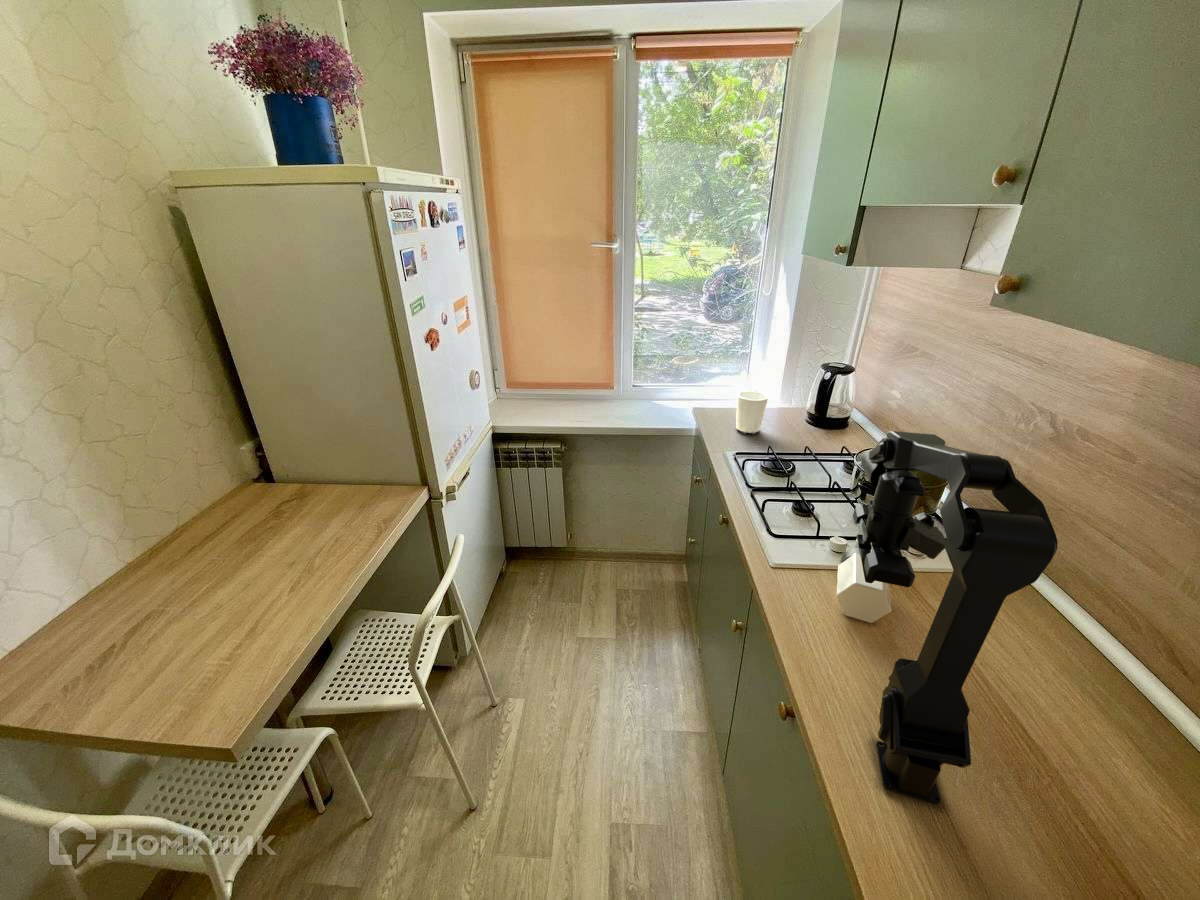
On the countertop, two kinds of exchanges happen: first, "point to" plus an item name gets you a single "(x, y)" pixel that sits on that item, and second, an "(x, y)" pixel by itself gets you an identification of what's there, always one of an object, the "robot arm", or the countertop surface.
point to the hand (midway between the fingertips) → (868, 581)
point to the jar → (860, 590)
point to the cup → (750, 411)
